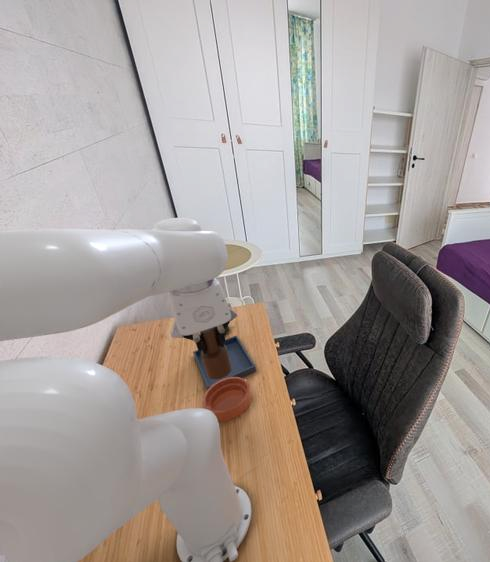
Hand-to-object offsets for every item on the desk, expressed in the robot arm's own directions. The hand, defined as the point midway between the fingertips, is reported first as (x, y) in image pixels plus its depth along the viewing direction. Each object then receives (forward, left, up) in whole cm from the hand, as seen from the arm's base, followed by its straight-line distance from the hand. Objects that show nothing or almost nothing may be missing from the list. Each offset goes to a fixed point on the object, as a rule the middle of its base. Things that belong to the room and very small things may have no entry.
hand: (212, 346), depth 66 cm
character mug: (+32, -6, -21) cm, 38 cm away
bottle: (0, 0, -8) cm, 8 cm away
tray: (+15, -3, -21) cm, 26 cm away
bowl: (0, 0, -21) cm, 21 cm away
